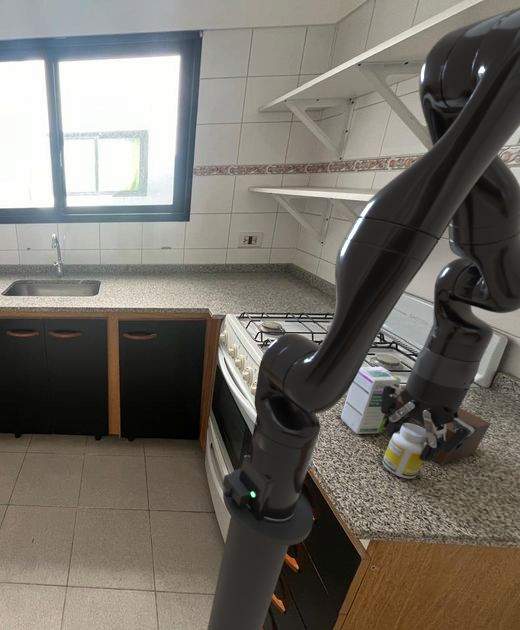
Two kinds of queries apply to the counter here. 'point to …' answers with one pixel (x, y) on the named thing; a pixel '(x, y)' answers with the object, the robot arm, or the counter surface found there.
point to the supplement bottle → (406, 451)
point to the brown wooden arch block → (467, 447)
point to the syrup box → (367, 400)
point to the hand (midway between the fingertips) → (407, 447)
